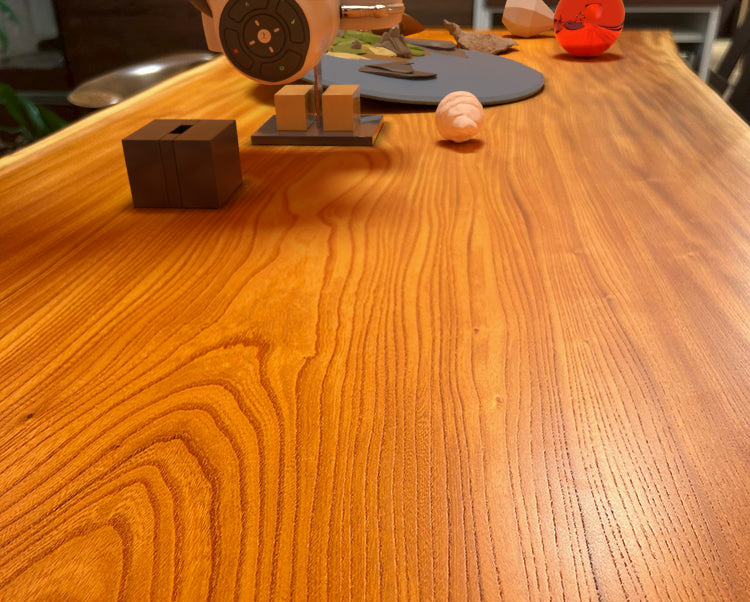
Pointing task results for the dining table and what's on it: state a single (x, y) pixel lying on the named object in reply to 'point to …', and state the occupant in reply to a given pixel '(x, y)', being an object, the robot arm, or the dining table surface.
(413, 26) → the decorative fish sculpture
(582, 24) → the ball
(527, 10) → the faceted beige polyhedron
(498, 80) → the serving platter
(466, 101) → the peach ridged curved piece
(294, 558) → the dining table surface
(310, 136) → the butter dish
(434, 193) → the dining table surface
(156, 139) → the brown slotted box
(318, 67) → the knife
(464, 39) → the coral
